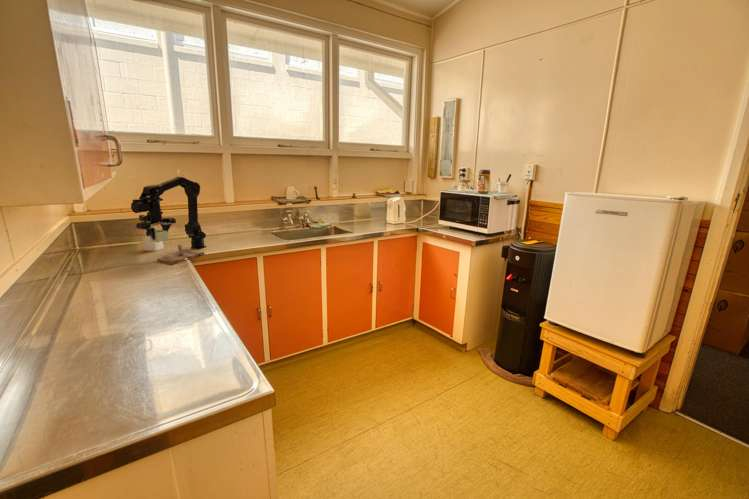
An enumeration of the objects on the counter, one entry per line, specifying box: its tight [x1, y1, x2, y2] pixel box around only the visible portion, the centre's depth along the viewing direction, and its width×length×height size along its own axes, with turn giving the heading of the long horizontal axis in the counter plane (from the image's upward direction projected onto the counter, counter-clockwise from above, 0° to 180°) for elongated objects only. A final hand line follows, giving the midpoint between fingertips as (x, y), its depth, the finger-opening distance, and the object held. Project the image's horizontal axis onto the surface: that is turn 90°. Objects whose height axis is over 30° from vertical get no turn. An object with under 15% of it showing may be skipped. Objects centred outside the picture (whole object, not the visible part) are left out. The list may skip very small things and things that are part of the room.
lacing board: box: [156, 243, 205, 265], centre depth 192 cm, size 20×12×8 cm, turn 157°
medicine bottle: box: [142, 228, 165, 252], centre depth 206 cm, size 7×7×12 cm
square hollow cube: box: [150, 229, 169, 242], centre depth 188 cm, size 6×6×5 cm
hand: (159, 238), depth 188 cm, fingers closed on square hollow cube, 6 cm apart
